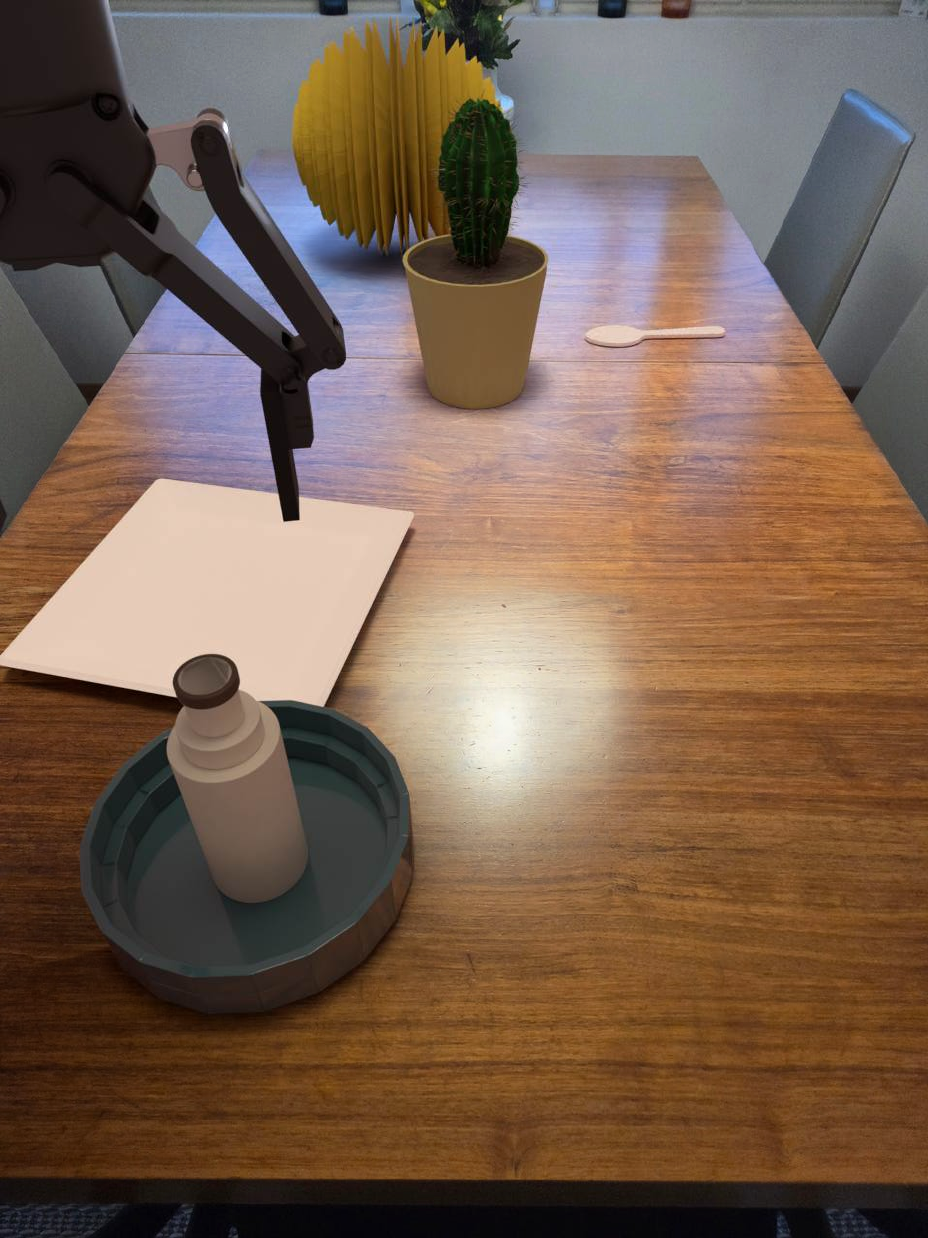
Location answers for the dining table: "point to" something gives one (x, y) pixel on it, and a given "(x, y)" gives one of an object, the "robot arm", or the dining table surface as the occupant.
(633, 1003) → the dining table surface
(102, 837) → the bowl
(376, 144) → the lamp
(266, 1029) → the dining table surface
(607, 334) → the spoon
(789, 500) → the dining table surface
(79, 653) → the beige square board
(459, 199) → the potted cactus
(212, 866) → the bottle
